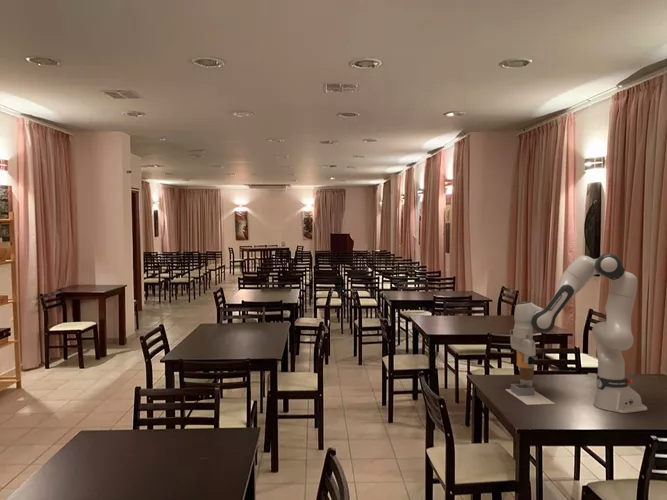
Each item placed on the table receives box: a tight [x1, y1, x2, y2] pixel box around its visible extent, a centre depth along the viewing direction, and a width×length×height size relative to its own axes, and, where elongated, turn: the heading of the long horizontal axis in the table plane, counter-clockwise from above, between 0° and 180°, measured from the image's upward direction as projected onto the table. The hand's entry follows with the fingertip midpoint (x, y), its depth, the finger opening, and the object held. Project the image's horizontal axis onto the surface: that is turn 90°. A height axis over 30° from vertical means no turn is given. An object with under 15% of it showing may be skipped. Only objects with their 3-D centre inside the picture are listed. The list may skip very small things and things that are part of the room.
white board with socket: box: [504, 383, 556, 406], centre depth 258 cm, size 14×24×4 cm, turn 6°
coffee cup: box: [518, 356, 536, 387], centre depth 280 cm, size 8×8×15 cm
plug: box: [516, 351, 528, 368], centre depth 262 cm, size 4×4×9 cm
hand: (522, 361), depth 262 cm, fingers closed on plug, 4 cm apart
